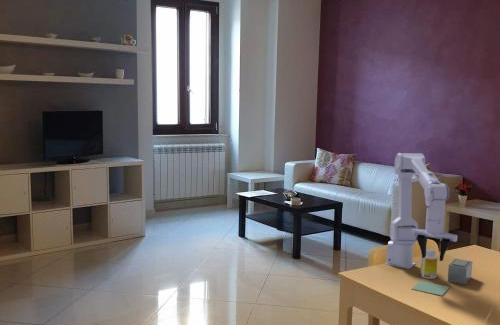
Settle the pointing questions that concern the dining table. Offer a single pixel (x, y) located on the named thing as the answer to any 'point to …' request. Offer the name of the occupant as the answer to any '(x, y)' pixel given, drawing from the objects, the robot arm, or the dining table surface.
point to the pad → (430, 288)
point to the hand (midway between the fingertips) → (432, 258)
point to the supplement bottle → (429, 264)
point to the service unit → (460, 271)
